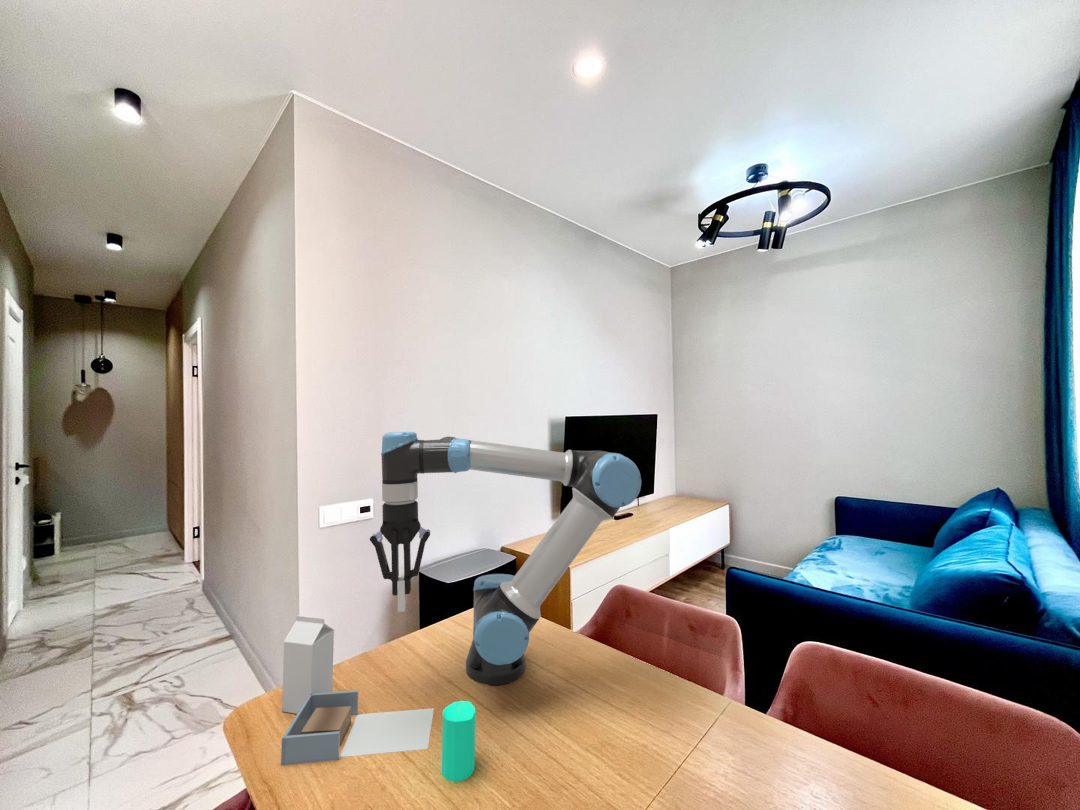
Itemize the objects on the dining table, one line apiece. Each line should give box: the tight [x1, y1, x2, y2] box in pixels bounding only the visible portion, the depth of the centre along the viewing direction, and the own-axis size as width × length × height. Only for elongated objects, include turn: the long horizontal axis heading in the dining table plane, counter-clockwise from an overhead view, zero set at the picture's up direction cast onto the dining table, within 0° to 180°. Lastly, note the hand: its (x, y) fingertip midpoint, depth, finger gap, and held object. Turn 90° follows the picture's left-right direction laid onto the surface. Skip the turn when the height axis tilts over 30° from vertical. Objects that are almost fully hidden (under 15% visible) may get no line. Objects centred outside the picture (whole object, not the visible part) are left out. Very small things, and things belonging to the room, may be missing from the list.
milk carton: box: [281, 615, 335, 715], centre depth 97 cm, size 7×7×19 cm
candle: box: [441, 700, 476, 783], centre depth 79 cm, size 6×6×12 cm
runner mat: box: [339, 707, 435, 758], centre depth 88 cm, size 16×12×1 cm
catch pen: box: [280, 690, 359, 766], centre depth 87 cm, size 10×13×5 cm
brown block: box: [301, 706, 352, 746], centre depth 87 cm, size 7×7×4 cm
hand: (401, 609), depth 96 cm, fingers closed
